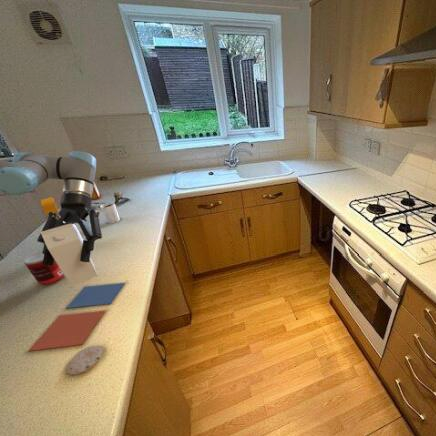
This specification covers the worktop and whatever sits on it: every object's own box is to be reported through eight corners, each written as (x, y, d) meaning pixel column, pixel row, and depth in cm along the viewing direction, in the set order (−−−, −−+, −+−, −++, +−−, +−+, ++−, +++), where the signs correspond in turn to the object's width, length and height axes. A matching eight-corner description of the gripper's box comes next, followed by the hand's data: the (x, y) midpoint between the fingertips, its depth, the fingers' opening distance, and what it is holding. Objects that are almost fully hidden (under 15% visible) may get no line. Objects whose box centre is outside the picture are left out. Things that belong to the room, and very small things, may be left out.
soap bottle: (84, 239, 119) (60, 193, 107) (85, 247, 112) (60, 199, 101) (60, 246, 114) (33, 199, 102) (60, 255, 107) (30, 205, 96)
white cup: (108, 219, 137) (101, 204, 132) (121, 217, 139) (115, 201, 135) (106, 224, 131) (98, 208, 127) (120, 222, 134) (113, 205, 129)
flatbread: (78, 380, 60) (77, 378, 59) (60, 369, 62) (58, 367, 62) (110, 351, 66) (109, 348, 66) (93, 342, 69) (91, 340, 69)
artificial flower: (91, 207, 156) (88, 191, 154) (131, 204, 164) (129, 190, 162) (85, 209, 148) (82, 192, 146) (128, 206, 156) (126, 191, 154)
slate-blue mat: (66, 308, 80) (65, 308, 80) (85, 287, 89) (84, 286, 89) (110, 304, 82) (110, 303, 81) (124, 283, 90) (124, 282, 90)
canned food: (60, 270, 98) (46, 248, 93) (68, 276, 95) (54, 254, 89) (35, 281, 92) (19, 258, 87) (43, 288, 89) (27, 265, 84)
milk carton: (69, 276, 80) (39, 227, 71) (95, 266, 84) (70, 219, 75) (71, 287, 76) (40, 236, 66) (98, 276, 80) (72, 227, 71)
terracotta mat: (28, 351, 67) (28, 350, 67) (59, 316, 78) (59, 315, 77) (82, 345, 68) (81, 344, 68) (105, 311, 79) (105, 310, 79)
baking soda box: (99, 198, 165) (89, 176, 158) (87, 200, 162) (77, 178, 155) (100, 194, 172) (90, 172, 165) (89, 196, 169) (78, 174, 162)
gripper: (119, 198, 84) (113, 261, 78) (50, 202, 82) (37, 268, 76) (105, 189, 77) (96, 258, 71) (29, 194, 75) (13, 265, 69)
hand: (66, 263), depth 73 cm, fingers closed on milk carton, 10 cm apart
